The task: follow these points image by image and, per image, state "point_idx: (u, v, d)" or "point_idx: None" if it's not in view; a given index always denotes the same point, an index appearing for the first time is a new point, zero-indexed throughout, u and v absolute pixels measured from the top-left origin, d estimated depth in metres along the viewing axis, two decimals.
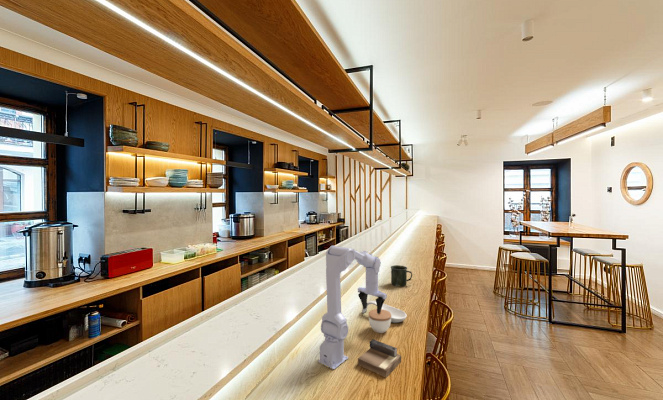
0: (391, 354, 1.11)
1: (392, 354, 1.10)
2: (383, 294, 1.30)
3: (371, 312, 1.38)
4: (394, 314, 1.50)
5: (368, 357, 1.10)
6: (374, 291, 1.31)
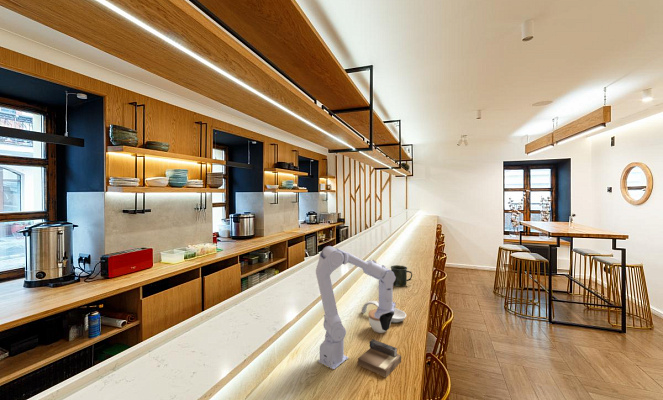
0: (391, 354, 1.11)
1: (392, 354, 1.10)
2: (377, 312, 1.15)
3: (371, 312, 1.38)
4: (394, 314, 1.50)
5: (368, 357, 1.10)
6: (379, 306, 1.19)
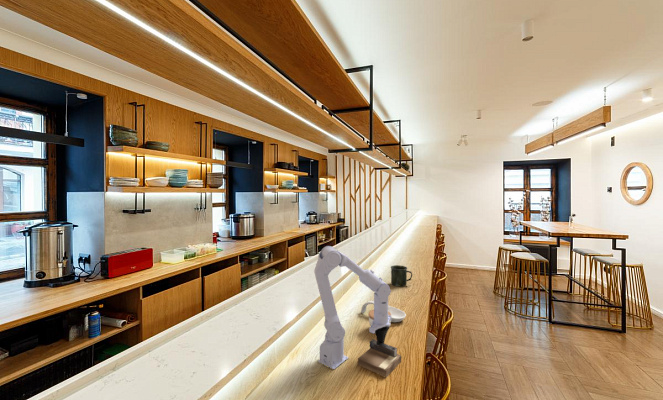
0: (391, 354, 1.11)
1: (392, 354, 1.10)
2: (372, 327, 1.12)
3: (371, 312, 1.38)
4: (394, 313, 1.50)
5: (368, 357, 1.10)
6: (374, 320, 1.16)
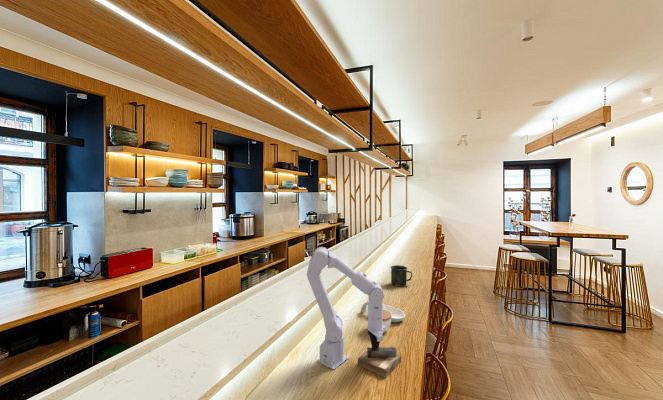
0: (393, 355, 1.10)
1: (394, 354, 1.10)
2: (379, 335, 1.06)
3: None
4: (393, 314, 1.51)
5: None
6: (372, 328, 1.10)
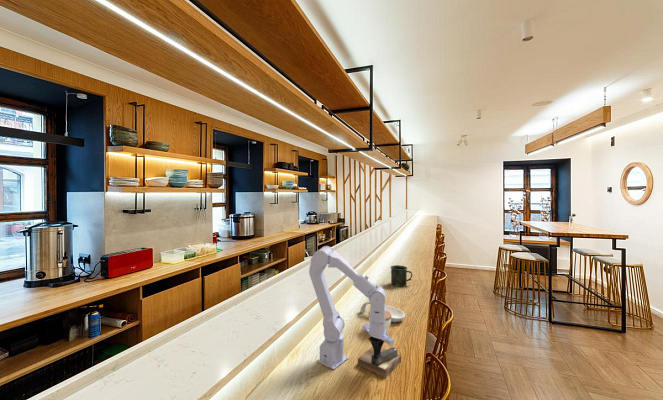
0: (395, 355, 1.10)
1: (396, 354, 1.10)
2: (389, 339, 1.03)
3: None
4: (393, 313, 1.51)
5: (368, 357, 1.10)
6: (379, 333, 1.06)
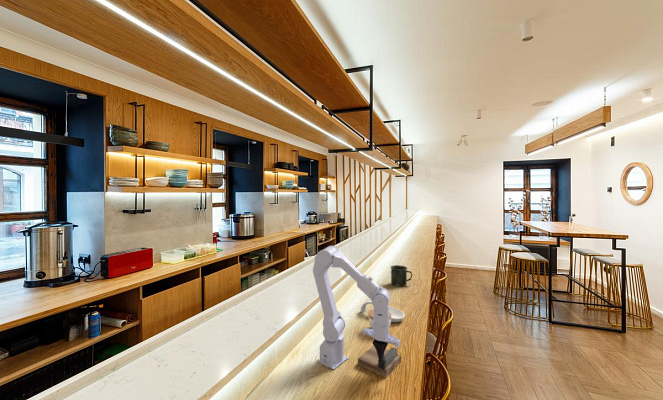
0: (396, 355, 1.10)
1: (396, 354, 1.10)
2: (396, 340, 1.02)
3: (371, 312, 1.38)
4: (393, 314, 1.51)
5: (368, 357, 1.10)
6: (384, 336, 1.04)
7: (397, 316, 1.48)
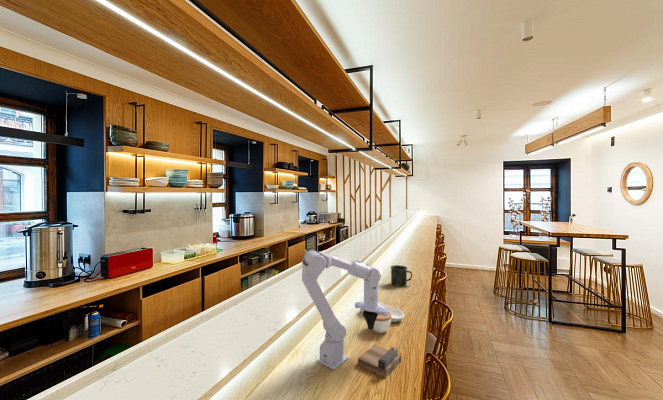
0: (396, 355, 1.10)
1: (396, 354, 1.10)
2: (384, 311, 1.14)
3: None
4: (392, 313, 1.51)
5: (368, 357, 1.10)
6: (373, 307, 1.16)
7: (397, 316, 1.49)
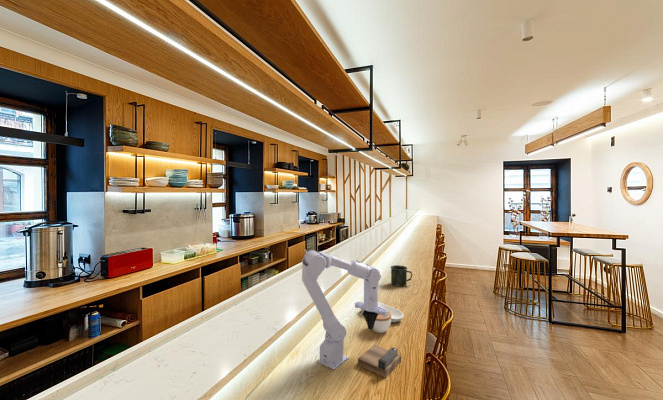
0: (396, 355, 1.10)
1: (396, 354, 1.10)
2: (384, 311, 1.14)
3: None
4: (392, 314, 1.50)
5: (368, 357, 1.10)
6: (373, 307, 1.16)
7: (396, 316, 1.48)
